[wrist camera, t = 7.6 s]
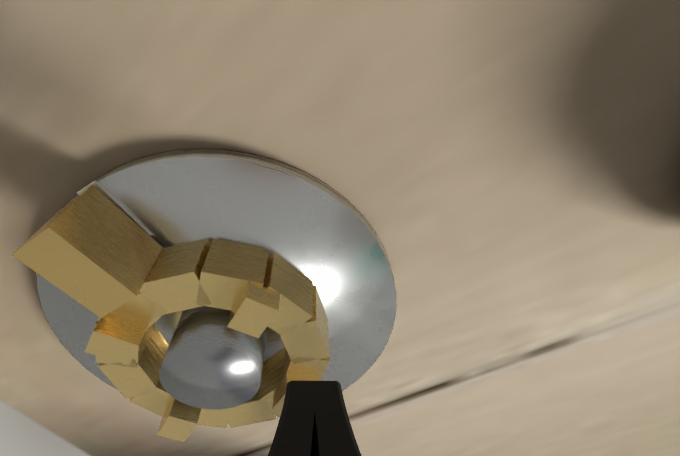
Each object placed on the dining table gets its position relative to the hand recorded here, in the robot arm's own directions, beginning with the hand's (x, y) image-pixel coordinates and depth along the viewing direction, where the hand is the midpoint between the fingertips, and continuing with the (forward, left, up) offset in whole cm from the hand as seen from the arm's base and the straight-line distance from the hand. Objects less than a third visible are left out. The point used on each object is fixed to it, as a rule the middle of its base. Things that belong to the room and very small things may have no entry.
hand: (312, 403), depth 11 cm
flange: (-4, +6, -10) cm, 12 cm away
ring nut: (-2, +6, -8) cm, 11 cm away
